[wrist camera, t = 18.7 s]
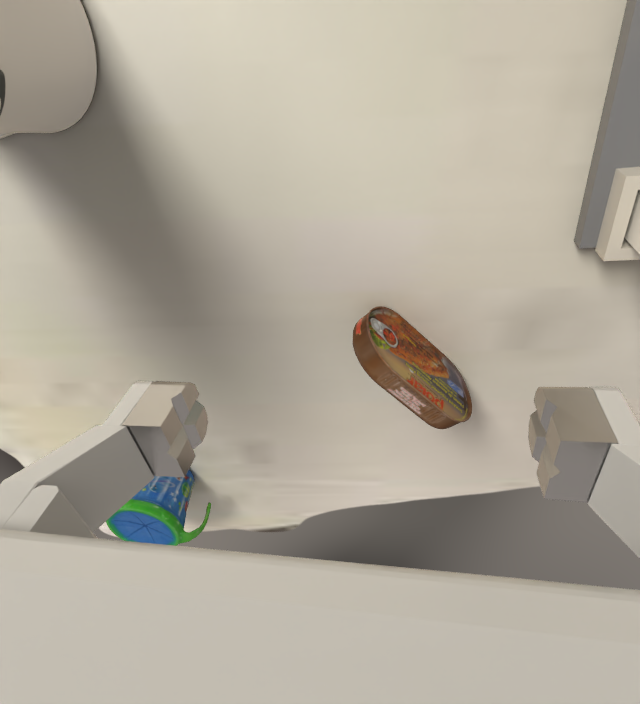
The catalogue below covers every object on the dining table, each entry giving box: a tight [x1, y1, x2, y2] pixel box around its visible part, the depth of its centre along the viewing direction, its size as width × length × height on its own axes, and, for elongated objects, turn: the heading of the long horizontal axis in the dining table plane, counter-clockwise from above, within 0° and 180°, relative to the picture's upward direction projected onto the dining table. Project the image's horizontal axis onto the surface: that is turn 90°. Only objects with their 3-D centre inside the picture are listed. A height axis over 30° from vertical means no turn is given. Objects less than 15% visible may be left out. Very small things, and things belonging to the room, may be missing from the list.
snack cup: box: [106, 470, 211, 546], centre depth 65 cm, size 16×10×10 cm
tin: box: [353, 307, 472, 429], centre depth 44 cm, size 15×3×8 cm, turn 49°
